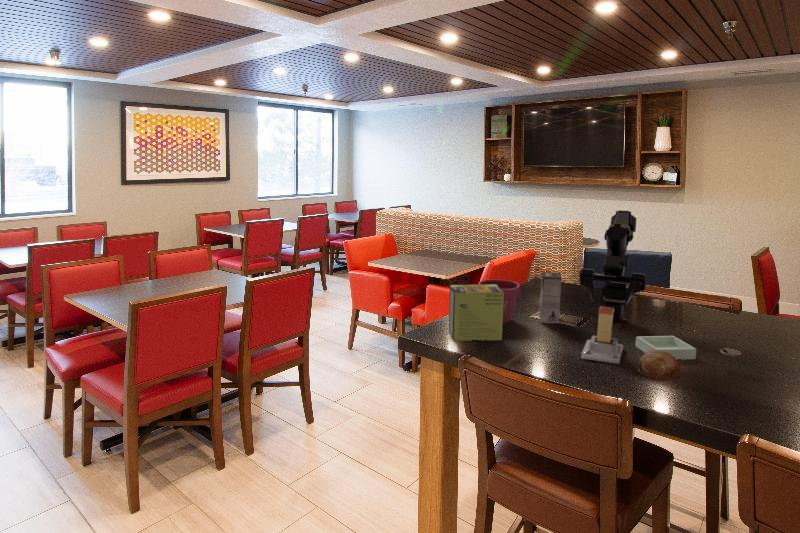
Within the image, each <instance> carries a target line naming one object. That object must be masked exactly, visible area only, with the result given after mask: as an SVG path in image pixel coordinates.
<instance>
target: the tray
mask: <svg viewBox="0 0 800 533" xmlns="http://www.w3.org/2000/svg"><path fill="white" fill-rule="evenodd" d="M634 344H635V347H636V348H637V349H639V350H640V351H642V353H644V354H645V353H646V352H648V351H652V350H656V351H663V352H667V353H669V354H671V355H672V356H673V357H674V358H675V359H676V360H677V361H678V359H681V360H696V359H697V358H696V357H697V348H695V347H694V346H692V345H690V344H689V343H687V342H685V341H684V340H682V339H680V338H678V337H676V336H675V335H651V336H650V335H649V336H647V335H645V336H643V335H642V336H640V335H639V336H638V335H637V336H636V338H635V343H634Z"/></svg>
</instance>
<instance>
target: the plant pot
mask: <svg viewBox="0 0 800 533" xmlns="http://www.w3.org/2000/svg"><path fill="white" fill-rule="evenodd" d="M488 284H496V285H497V286H498V287H499V288H500V289H501V290H502V291H503V292H504V303H503V324H505V323H509V322H511V319H512V315H513V312H514V308H515V305H516V301H517V298H518V297H519V296H520V292H521V291H520V289H521V286H520V284H519V283H518V282H516V281H513V280H508V279H497V278H496V279H495V278H494V279H492V278H491V279H490V278H489V279H483V280H481V281H479V282H478V285H488Z"/></svg>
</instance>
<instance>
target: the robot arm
mask: <svg viewBox="0 0 800 533" xmlns="http://www.w3.org/2000/svg"><path fill="white" fill-rule="evenodd" d="M636 230H637V217H635V216H634V215H633V214H632V211H631V210H616V211H615V214H614V215H612V216H611V217H610V225H609V226H608V229H605V233H604V241H606V244H605V245H606V253H605V255H604V262H603V265H602V273H595V269H594V268H581V269H580V271H579V282H580V283H579V284H580V285H582V286H584V288H587V289H588V291H589V295H590V298H591V299H590V300H591V302H592V303H594V301H595V281H599V282H604V285H602V289H601V303H602V304H603V303H604V306H605V307H613V308H614V312H613V322H612V324H613V323H614V324H617V323H622V322H627V321H628V319H626V318H624V315H625V306H628V305H631V300H632V298H633V296H635V294H637V293H640V292H644V291H645V290H646V282H647V275H646V274H645V273H640V272H631V276H625V275H624V274H625V268H628V267H629V263H630V255H627V251H628V250H627V249H628V246H629V243H631V242H632V241H633V240H634V233H636ZM628 285H629V286H628Z"/></svg>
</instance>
